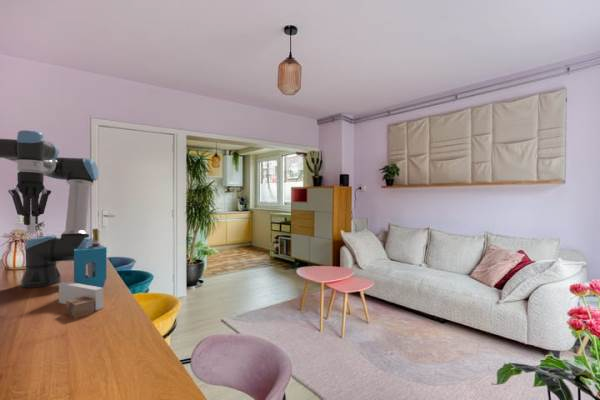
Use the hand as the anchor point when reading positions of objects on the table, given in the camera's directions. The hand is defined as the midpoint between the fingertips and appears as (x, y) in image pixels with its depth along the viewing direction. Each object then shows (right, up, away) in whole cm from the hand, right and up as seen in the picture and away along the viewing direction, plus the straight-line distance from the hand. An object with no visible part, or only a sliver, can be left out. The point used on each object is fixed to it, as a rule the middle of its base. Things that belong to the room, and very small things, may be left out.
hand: (31, 233), depth 117 cm
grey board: (+15, -30, +5) cm, 34 cm away
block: (+9, -29, +21) cm, 37 cm away
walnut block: (+21, -30, -3) cm, 37 cm away
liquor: (+6, -29, +28) cm, 41 cm away
